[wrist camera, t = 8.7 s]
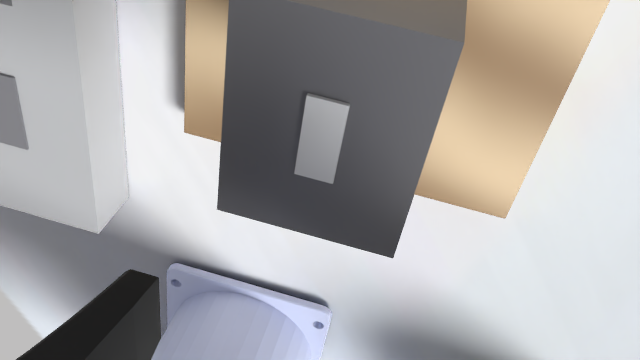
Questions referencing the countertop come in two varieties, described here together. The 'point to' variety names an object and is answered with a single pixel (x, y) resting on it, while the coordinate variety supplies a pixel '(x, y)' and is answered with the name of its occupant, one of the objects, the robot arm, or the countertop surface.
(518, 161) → the oak board
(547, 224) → the countertop surface
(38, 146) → the power strip
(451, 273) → the countertop surface
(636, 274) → the countertop surface
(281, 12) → the block
